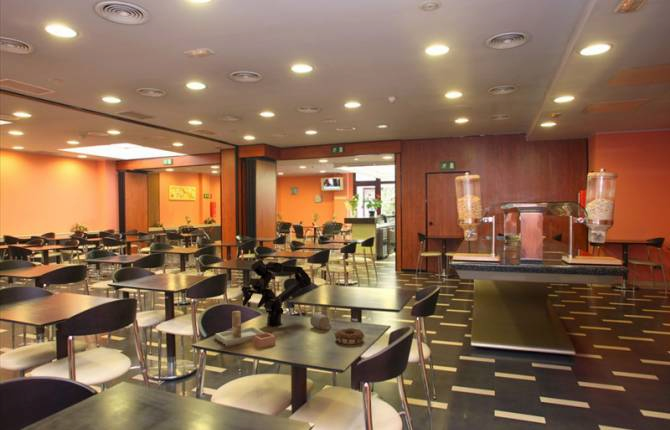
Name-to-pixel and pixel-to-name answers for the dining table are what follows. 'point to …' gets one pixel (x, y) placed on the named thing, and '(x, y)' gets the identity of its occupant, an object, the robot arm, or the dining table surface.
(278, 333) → the dining table surface
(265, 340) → the square frame
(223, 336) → the tray
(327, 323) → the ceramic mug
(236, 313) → the dowel
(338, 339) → the donut
